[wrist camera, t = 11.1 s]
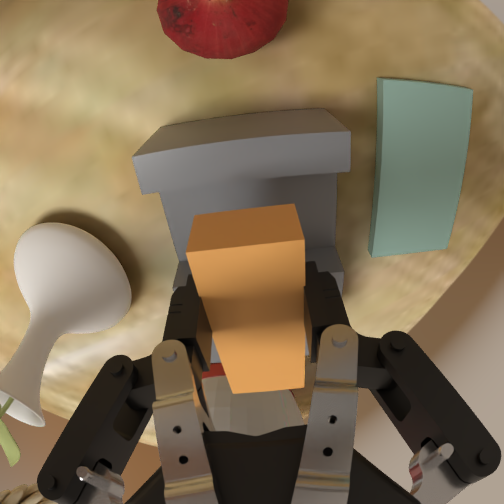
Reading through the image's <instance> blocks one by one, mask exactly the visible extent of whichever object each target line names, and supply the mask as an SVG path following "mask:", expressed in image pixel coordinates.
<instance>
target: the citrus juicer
mask: <svg viewBox="0 0 504 504" xmlns="http://www.w3.org/2000/svg"><path fill="white" fill-rule="evenodd" d="M202 383H203V387H204V391H205V395H206V399H207V403H208V407H209V411H210V415H211V419H212V422H213V425H214V427H215V430H216V431H230V432H235V433H240V434H246V435H252V436H259V435H262V434H266V433H269V432H272V431H275V430H278V429H281V428H284V427H290V426H299V425H304V422H303V419H302V415H301V412H300V410H299V408H298V406H297V403H296V401H295V399H294V395H293V393H292V391H291V389H286V390H276V391H265V392H253V393H238V394H233V393H232V390H231V387H230V385H229V382H228V379H227V377H226V374H225V371H224V368H223V366H222V363H214V364H211V365H210V371H209V372H203V373H202Z"/></svg>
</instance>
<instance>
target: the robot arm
mask: <svg viewBox="0 0 504 504" xmlns="http://www.w3.org/2000/svg"><path fill="white" fill-rule="evenodd" d="M168 313H169V314H168V316H167V321H166V326H165V331H164V336H163V341H162V342H161V343H160V344H158V345H157V346H156V347H155V348H154V350H153V352H152V354H151V355H150V356H147V357H144V358H141V359H138V360H135V361H132V360H131V359H130V358H129V357H127V356H125V355H117V356H114V357H112V358H110V359H109V360H108V361H107V362H106V363H105V364H104V366H103V367H102V369H101V370H100V372H99V373H98V375H97V377H96V378H95V380H94V381H93V383H92V384H91V386H90V388H89V389H88V391H87V392H86V394H85V396H84V397H83V399H82V400H81V402H80V404H79V405H78V407H77V409H76V410H75V412H74V414H73V415H72V417H71V419H70V420H69V422H68V424H67V425H66V427H65V429H64V431H63V432H62V434H61V436H60V437H59V439H58V441H57V442H56V444H55V446H54V448H53V449H52V451H51V453H50V455H49V457H48V458H47V460H46V462H45V463H44V465H43V467H42V469H41V471H40V473H39V475H38V478H37V486H38V489H39V492H40V493H41V494H42V496H43V497H45V498H46V499H48V500H51V501H53V502H56V503H58V504H123V503H122V495H123V494H124V482H123V479H122V478H121V474H122V472H123V470H124V468H125V466H126V464H127V462H128V460H129V458H130V456H131V455H132V452H133V451H134V449H135V447H136V445H137V443H138V441H139V439H140V437H141V435H142V433H143V431H144V429H145V428H146V426H147V424H148V422H149V420H150V418H151V416H152V414H153V417H154V424H155V430H156V437H157V443H158V449H159V455H160V461H161V466H160V467H159V469H158V470H157V471H156V472H155V473H154V474H153V475H152V476H151V477H150V478H149V479H148V480H147V481H146V482H145V483H144V484H143V485H142V486H141V488H139V490H138V491H137V492H136V493H135V494H134V495H133V496H132V497H131V498H130V499H129V500H128V501H127V502H126V503H125V504H446V503H448V502H449V501H450V500H451V499H453V497H455V496H456V495H457V494H459V493H460V492H461V491H462V490H463V489H465V488H466V487H467V486H469V485H471V484H473V483H475V482H477V481H479V480H481V479H483V478H485V477H487V476H488V475H490V474H492V473H493V472H494V471H495V470H496V469H497V467H498V466H499V464H500V460H501V450H500V448H499V446H498V444H497V443H496V441H495V440H494V439H493V437H492V436H491V435H490V433H489V432H488V431H487V429H486V428H485V427H484V425H483V424H482V423H481V421H480V420H479V419H478V418H477V416H476V415H475V414H474V412H473V411H472V410H471V409H470V407H469V406H468V405H467V404H466V402H465V401H464V400H463V399H462V397H461V396H460V395H459V394H458V392H457V391H456V390H455V389H454V387H453V386H452V385H451V384H450V383H449V381H448V380H447V379H446V378H445V376H444V375H443V374H442V373H441V372H440V370H439V369H438V368H437V367H436V366H435V364H434V363H433V362H432V361H431V360H430V359H429V357H428V356H427V355H426V354H425V353H424V351H423V350H422V349H421V348H420V347H419V346H418V344H417V343H416V342H415V341H414V340H413V339H412V338H411V337H410V336H409V335H408V334H406V333H404V332H402V331H391V332H388V333H386V334H385V335H384V336H383V337H382V338H381V339H380V338H371V337H365V336H362V335H360V334H358V333H357V332H355V330H354V329H352V327H351V326H350V323H349V320H348V317H347V314H346V310H345V307H344V304H343V301H342V297H341V294H340V291H339V289H338V285H337V282H336V279H335V278H334V277H333V276H332V275H331V274H330V273H329V272H328V271H325V272H318V269H317V266H316V262H315V261H307V262H305V286H304V327H305V333H306V339H307V345H308V351H309V356H310V362H311V363H314V362H317V371H316V378H315V383H314V388H313V395H312V401H311V407H310V413H309V419H308V424H307V425H299V426H290V427H284V428H281V429H278V430H275V431H272V432H269V433H266V434H262V435H259V436H252V435H246V434H240V433H235V432H230V431H216V430H215V427H214V425H213V422H212V419H211V415H210V411H209V407H208V403H207V399H206V395H205V391H204V387H203V383H202V373H203V372H209V371H210V362H211V347H212V330H211V326H210V323H209V320H208V317H207V314H206V311H205V308H204V305H203V302H202V299H201V297H199V295H198V291H197V288H196V285H195V282H194V279H193V275H192V274H188V277H187V283H186V286H179V287H178V288H177V289H176V290H175V292H174V293H173V295H172V297H171V302H170V306H169V311H168ZM358 387H359V388H360V387H361V388H368V389H369V390H370V391H371V392H372V394H373V395H374V397H375V398H376V400H377V401H378V403H379V404H380V406H381V407H382V408H383V410H384V411H385V413H386V414H387V415H388V417H389V419H390V420H391V421H392V423H393V424H394V426H395V427H396V428H397V430H398V432H399V433H400V434H401V436H402V437H403V439H404V440H405V442H406V443H407V445H408V446H409V448H410V449H411V450H412V452H413V453H414V456H413V457H412V458H411V460H410V464H409V472H410V474H411V477H412V480H413V486H412V490H411V492H410V493H409V492H407V491H406V490H405V489H403V488H402V487H401V486H400V485H398V484H397V483H396V482H394V481H393V480H392V479H391V478H389V477H388V476H387V475H386V474H384V473H383V472H382V471H380V470H379V469H378V468H377V467H376V466H374V465H373V464H372V463H371V462H369V461H368V460H367V459H366V458H365V457H363V456H362V455H361V454H360V453H359V452H357V451H356V450H355V449H354V448H353V445H354V436H355V426H356V415H357V401H358Z"/></svg>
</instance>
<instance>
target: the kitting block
mask: <svg viewBox="0 0 504 504" xmlns="http://www.w3.org/2000/svg"><path fill="white" fill-rule="evenodd" d="M132 160H133V164H134V168H135V171H136V175H137V178H138V182H139V185H140V189H141V192H142V195H143V194H149V193H156V192H159V193H160V197H161V201H162V204H163V208H164V212H165V215H166V219H167V222H168V226H169V229H170V233H171V236H172V239H173V243H174V246H175V250H176V253H177V256H178V259H179V264H178V268H177V272H176V276H175V280H174V284H173V291H174V292H175V290H176V289H177V288H178V287H179V286H186V283H187V277H188V274H192V272H191V269H190V266H189V262H188V259H187V256H186V249H187V245H188V240H189V236H190V232H191V228H192V223H193V219H194V215H199V214H207V213H215V212H223V211H231V210H239V209H248V208H257V207H265V206H275V205H284V204H295V207H296V211H297V214H298V218H299V221H300V225H301V228H302V232H303V236H304V239H305V262H307V261H315V262H316V266H317V269H318V272H325V271H328V272H329V273H330V274H331V275H332V276H333V277H334V278H335V279H336V282H337V285H338V289H339V291H340V294H341V297H342V290H343V281H344V269H343V266H342V264H341V261H340V258H339V256H338V253H337V250H336V248H335V236H336V208H337V173H339V172H350V164H351V131H350V130H349V129H347V128H346V127H345V126H344V125H343V124H342V123H341V122H339V121H338V120H337V119H336V118H335V117H334V116H332V115H331V114H330V113H329V112H328V111H326V110H325V109H324V108H318V109H298V110H284V111H271V112H261V113H251V114H242V115H234V116H226V117H218V118H212V119H205V120H198V121H192V122H186V123H181V124H175V125H170V126H165V127H160V128H159V129H158V130H157V131H156V132H155V133H154V134H153V135H152V136H151V137H150V138H149V139H148V140H147V141H146V142H145V143H144V144H143V145H142V146H141V148H140V149H139V150H138V151H137V152H136V153H135V154H134V155H133V156H132ZM306 355H309V351H308V345H307V339H306V333H305V356H306ZM210 363H221V360H220V357H219V354H218V351H217V349H216V346H215V343H214V340H213V337H212V347H211V362H210Z"/></svg>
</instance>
